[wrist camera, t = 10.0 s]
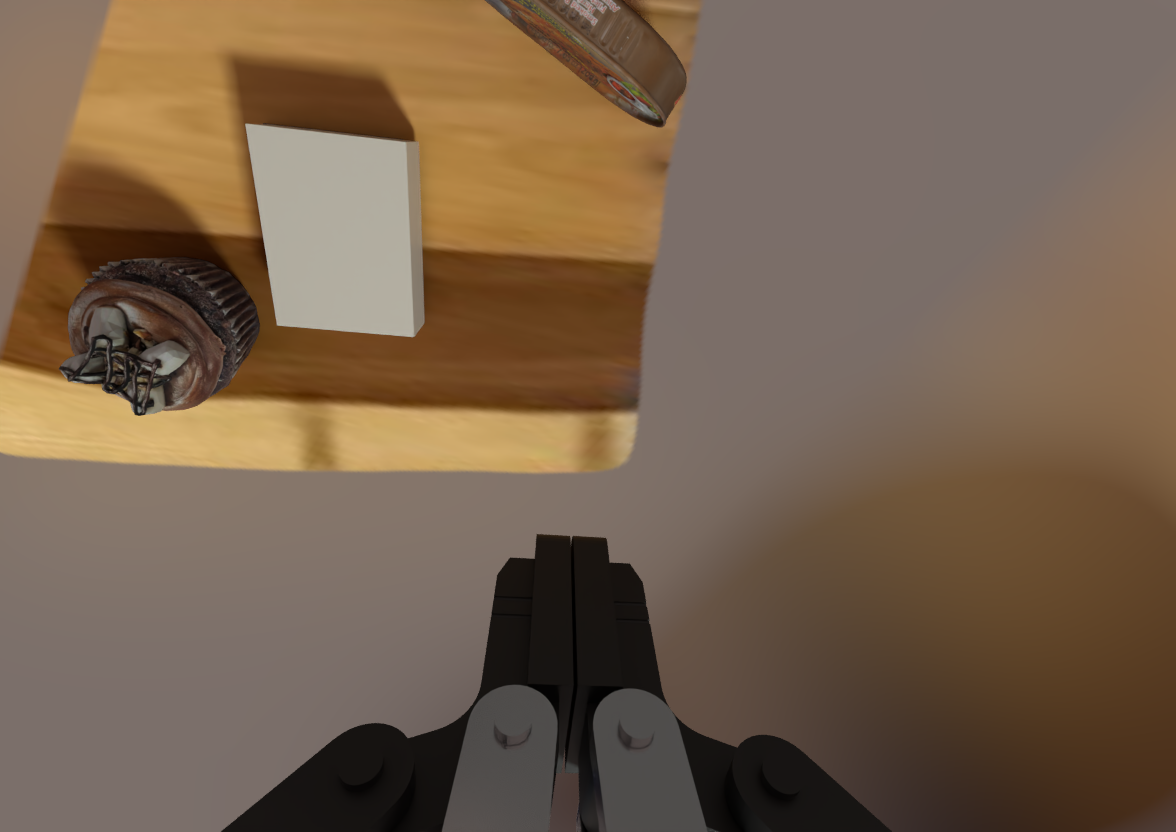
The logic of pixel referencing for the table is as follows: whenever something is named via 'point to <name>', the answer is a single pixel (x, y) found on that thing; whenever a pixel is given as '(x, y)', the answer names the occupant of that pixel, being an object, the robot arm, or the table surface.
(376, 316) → the tile
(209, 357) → the cupcake
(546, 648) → the robot arm
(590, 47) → the tin
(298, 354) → the table surface
